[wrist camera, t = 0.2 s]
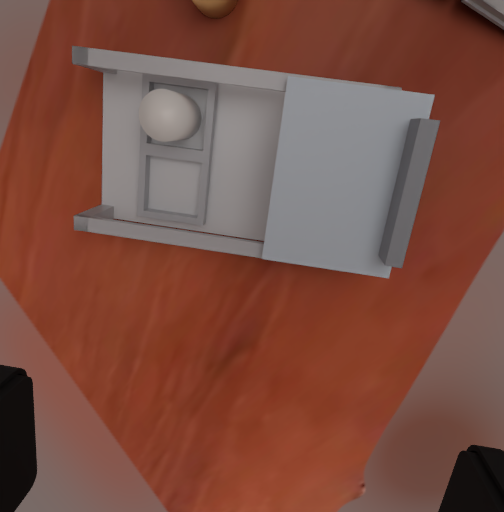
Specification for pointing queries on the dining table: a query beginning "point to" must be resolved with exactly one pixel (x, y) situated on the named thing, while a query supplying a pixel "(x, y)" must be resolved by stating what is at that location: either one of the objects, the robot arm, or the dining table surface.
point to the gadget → (489, 10)
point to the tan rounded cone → (215, 7)
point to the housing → (188, 152)
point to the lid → (348, 176)
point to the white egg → (169, 115)
